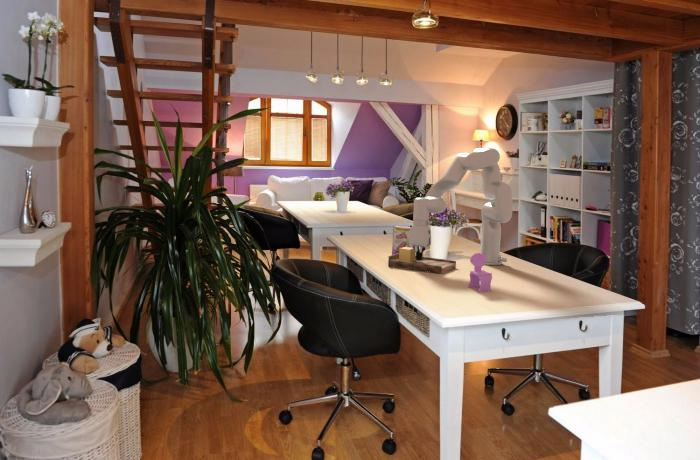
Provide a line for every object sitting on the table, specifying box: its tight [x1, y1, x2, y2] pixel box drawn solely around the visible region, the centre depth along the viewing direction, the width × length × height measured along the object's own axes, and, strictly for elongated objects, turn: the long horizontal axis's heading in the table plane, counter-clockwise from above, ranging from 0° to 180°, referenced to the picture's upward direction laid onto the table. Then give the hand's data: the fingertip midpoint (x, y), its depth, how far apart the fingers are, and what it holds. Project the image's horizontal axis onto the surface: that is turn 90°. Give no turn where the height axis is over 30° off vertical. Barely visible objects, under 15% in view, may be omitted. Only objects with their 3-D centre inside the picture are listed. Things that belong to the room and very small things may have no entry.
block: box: [399, 247, 416, 262], centre depth 300 cm, size 6×6×6 cm
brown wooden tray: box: [387, 253, 457, 275], centre depth 296 cm, size 28×18×5 cm, turn 58°
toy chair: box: [467, 252, 493, 293], centre depth 252 cm, size 8×9×15 cm
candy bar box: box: [391, 225, 412, 255], centre depth 320 cm, size 11×5×16 cm, turn 58°
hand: (419, 259), depth 297 cm, fingers closed
